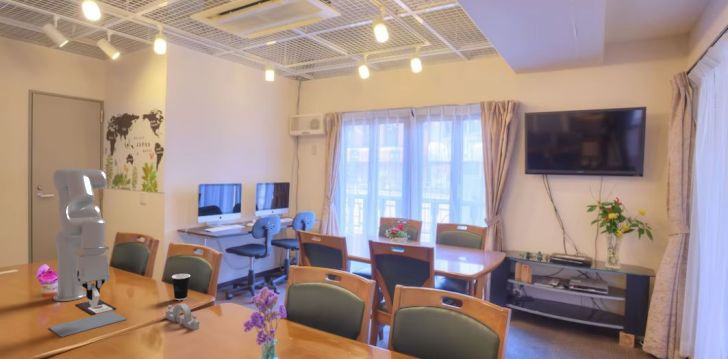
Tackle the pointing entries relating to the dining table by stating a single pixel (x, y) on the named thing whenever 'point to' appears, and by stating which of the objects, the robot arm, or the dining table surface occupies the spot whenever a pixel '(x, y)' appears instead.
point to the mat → (86, 324)
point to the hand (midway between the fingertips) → (93, 298)
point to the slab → (94, 296)
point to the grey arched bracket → (175, 316)
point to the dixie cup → (180, 286)
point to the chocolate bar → (96, 310)
